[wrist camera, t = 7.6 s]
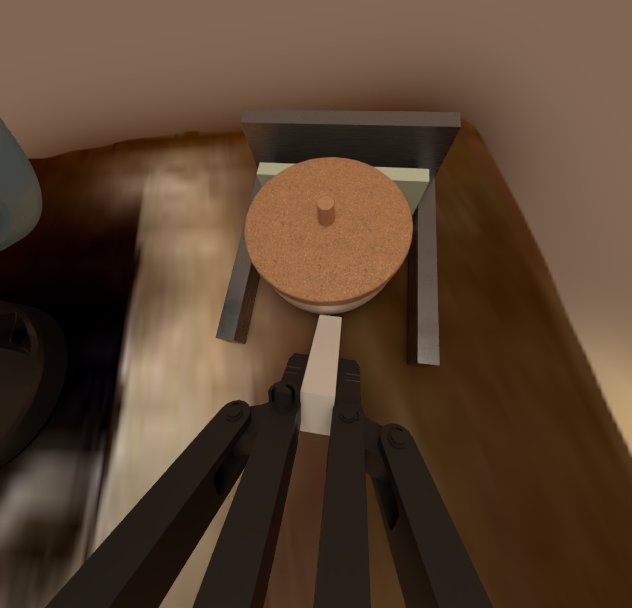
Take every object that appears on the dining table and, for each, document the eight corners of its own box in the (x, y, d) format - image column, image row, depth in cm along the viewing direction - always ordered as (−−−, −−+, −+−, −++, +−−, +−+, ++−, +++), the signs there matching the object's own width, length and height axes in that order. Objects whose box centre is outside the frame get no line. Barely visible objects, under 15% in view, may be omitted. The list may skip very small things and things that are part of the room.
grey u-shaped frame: (229, 342, 20) (179, 326, 14) (267, 178, 26) (244, 109, 19) (425, 366, 19) (477, 362, 12) (424, 185, 24) (459, 112, 17)
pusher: (274, 221, 24) (256, 174, 18) (276, 212, 24) (259, 162, 18) (404, 230, 23) (429, 181, 17) (404, 220, 23) (429, 168, 17)
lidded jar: (282, 221, 24) (252, 130, 15) (387, 227, 23) (422, 133, 14) (264, 321, 21) (212, 283, 12) (384, 334, 20) (426, 301, 11)
